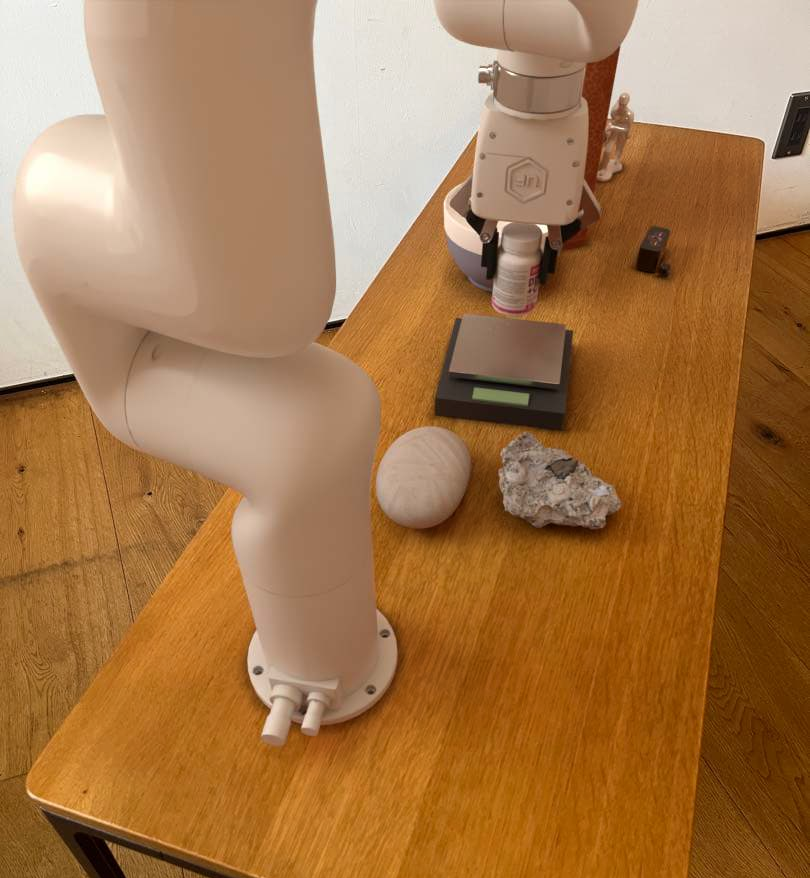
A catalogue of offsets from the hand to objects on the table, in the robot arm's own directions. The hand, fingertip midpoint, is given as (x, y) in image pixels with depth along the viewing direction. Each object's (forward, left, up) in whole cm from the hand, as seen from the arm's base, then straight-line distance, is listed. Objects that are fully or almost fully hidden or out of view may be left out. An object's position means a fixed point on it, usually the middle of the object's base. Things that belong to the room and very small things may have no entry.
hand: (517, 273), depth 81 cm
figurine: (+52, -10, -13) cm, 55 cm away
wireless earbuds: (+27, -17, -13) cm, 35 cm away
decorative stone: (-20, +6, -13) cm, 25 cm away
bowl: (+21, +3, -13) cm, 25 cm away
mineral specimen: (-20, -7, -13) cm, 25 cm away
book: (+40, -2, -13) cm, 42 cm away
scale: (-1, 0, -13) cm, 13 cm away
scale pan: (0, 0, -10) cm, 10 cm away
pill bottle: (0, 0, -4) cm, 4 cm away
